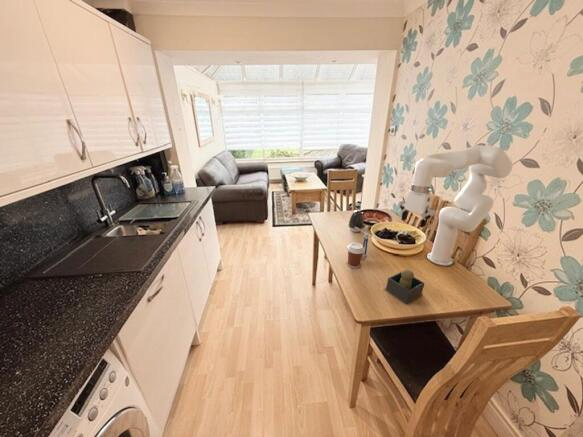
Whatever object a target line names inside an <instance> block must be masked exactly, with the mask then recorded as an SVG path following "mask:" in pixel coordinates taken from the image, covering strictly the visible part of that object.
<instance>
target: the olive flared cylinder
mask: <svg viewBox="0 0 583 437" xmlns="http://www.w3.org/2000/svg"><path fill="white" fill-rule="evenodd" d="M400 272H401V271H400ZM401 276H402V277H401V280H400V282H399V284H400V285H402V286H403V287H405V288H406V289H408V290H411V283H412V279H413V277H415V273H414V272H413V271H412V270H411V269H406V268H405V269H403V270H402V272H401Z"/></svg>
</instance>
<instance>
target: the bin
mask: <svg viewBox="0 0 583 437" xmlns="http://www.w3.org/2000/svg"><path fill="white" fill-rule="evenodd" d="M402 271H403V270H402ZM402 271H400V272H398V273H395V274H394V275H392V276H390V277H388V278H387V282H386V287H385V290H386V291H387V292H389V293H390V294H392V295H393V296H394V297H396V298H397V299H399V300H400V301H401V302H403V303H404V304H406V305H407V304H408V303H411V302H412V301H414V300H416V299H418V298H419V297H420V296H422V294H423V290H424V287H425V282H424V281H421V279H419V278H416V277H415V276H414V277H413V279H412V283H411V290H408V289H406V288H405V287H403V286H402V285H400V284H399V282H400V280H401V277H402V276H401V272H402Z"/></svg>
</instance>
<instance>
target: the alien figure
mask: <svg viewBox="0 0 583 437" xmlns="http://www.w3.org/2000/svg"><path fill="white" fill-rule="evenodd" d="M356 228H357V227H355V229H356ZM363 228H364V230H363V229H362V230H360V229H359V228H358V230H360V231H359V232H361V233H363V243H362V246H363V247H364V249H365V250H364V252H363V254H362V259H364V258H365V257H367V253H368V242H369V237H371V238H373V239H375V240H377V241H379V242H380V239H379V238H378V237H376V236H374V235H372V234H370V233H368V232H369V229H370V226H369V225H365V226H364V227H363Z"/></svg>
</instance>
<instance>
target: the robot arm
mask: <svg viewBox="0 0 583 437" xmlns="http://www.w3.org/2000/svg"><path fill="white" fill-rule="evenodd" d="M414 167H415V168H414V173H413V177H412V184H411V187H410V189H409V190H408V193H407V196H406V198H405V200H401V201H399V202H398V204H399V208H400V210H401V219H400V220H401V221H405V220H407V218H408V214H409V212H412V213H414V214H416V215H419V216H421V218H422V219H421V220H420V224H419V227H420V228H421V229H422V228H424V227H426V225H427V223H428V220H429V219H431V218H433V216H434V215H436V212H435V210H433V209H432V208H431V204H432V192H433V191H434V190H433V189H434V188H432V182H433V180H434V179H433V178H446V177H448V176H449V175H451V174H452V172H453V170H463V169H466V168H468V167H469V177H468V178H469V179H468V181H467V182H466V184H465V185H464V186H463V188H462V189H461V190H460V191H459V192H458V194H457V195H456V197H455V198H454V202H453V203H454V205H455V206H444V207H443V208H442V209H441V210H440V211H439V214H438V226H437V230H436V234H435V238H434V241H433V245H432V247H431V248H432V249H431V252H428V253H427V256H426V257H427V259H428V261H430V262H432V263H433V264H435V265H438V266H443V267H444V266H446V267H448V266H452V265H453V262H454V260H453V259H452V255H453V254H454V253H455V252H454V249H455V245H456V242H457V239H458V236H459V231H462V232H465V233H472V232H473V231H475V230H476V229H477V228H478V227H479V226H480V224H481V223H482V222H483V221H484V219H486V217H487V216H488V214H489V213H490V212H491V211H492V208H493V206H494V199H493V198H492V197H491V196H489V195H487V194H484V192H485V191H486V189H487V187H488V182H487V180H486V177H487V176H488V177H493V178H497V179H503V178H506V177H507V176H509V175H510V174H511V173H512V171H513V162H512V160H511V159H510V157H509V156H508V154H507V152H506V151H504V150H503V148H501V147H499V146H490V145H481V144H479V145H473V146H470V147H466V148H464V149H461V150H456V151H447V152H439V153H438V152H437V153H433V154H429V155H426V156H424V157H423V158H421V159H420V160H417V162H416V163H415V166H414Z"/></svg>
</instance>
